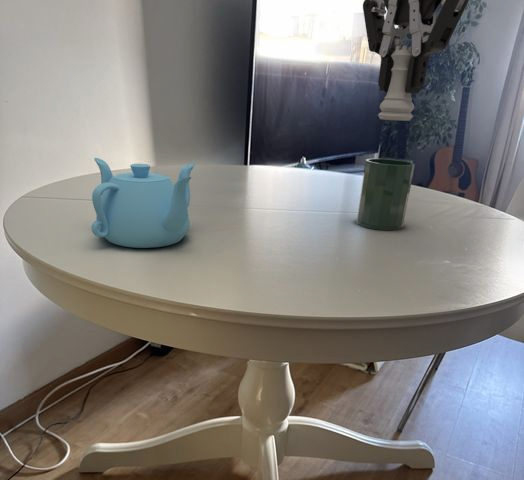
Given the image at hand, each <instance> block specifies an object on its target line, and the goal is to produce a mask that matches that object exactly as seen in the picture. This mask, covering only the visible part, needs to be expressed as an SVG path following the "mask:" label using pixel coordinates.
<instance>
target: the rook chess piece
mask: <svg viewBox="0 0 524 480" xmlns="http://www.w3.org/2000/svg"><path fill="white" fill-rule="evenodd" d="M391 57H392V59H393V61H394V65H393V68H392V69H391V71H392V77H391V82H390V86H389V89H388V92H386V95H385V96H384V97H383V98H384V99H383V100H382V102H381V103H380V104H379V109H380V110H381V111H380V112H379V113H378V114H377V116H378V117H379V120H383V121H384V120H385V121H405V122H407V121H408V122H410V121H411V120H412V118H413V117H414V115H413V114H412V112H413V110H415V105H414V103H413V101H412V100H413V98H412V93H406V92H405V86H406V80H407V73H408V67H409V61H410V58H413V55H412V45H409V47H408V45H401V46H396V47H395V51H394V53H393V54H392V55H391Z"/></svg>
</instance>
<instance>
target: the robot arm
mask: <svg viewBox="0 0 524 480" xmlns="http://www.w3.org/2000/svg"><path fill="white" fill-rule="evenodd" d="M469 1H470V0H363V3H362V11H363V18H364V26H365V32H366V37H367V43H368V45H367V46H368V50H369V51H370V52H372V53H376V54H377V55H379V57H380V65H379V71H378V73H379V74H378V79H377V84H378V87H379V92H381V93H387V92H388V89H389V86H390V82H391V77H392V71H391V69H392V68H393V65H394V61H393V59H392V57H391V55H392V54H393V53H394V51H395V47H396V46H401V47H402V45H403V40H404V39H405V38H406V37H407V35H408V32H409V34H410V35H411V46H412V55H413V58H410V61H409V67H408V73H407V80H406V86H405V92H406V93H411V94H419V93H420V92H421V89H422V88H423V87H424V85H425V83H426V76H427V71H428V64H429V60H430V58H431V56H432V55H434V54H436V53H439V52H443V51H445V50H446V48H447V46H448V44H449V43H450V40H451V39H452V37H453V34H454V32H455V30H456V29H457V26H458V24H459V22H460V20H461V18H462V15H463V13H464V12H465V10H466V7H467V5H468V4H469ZM440 5H441V8H440ZM438 8H440V11H439V13H438V15H437V10H438ZM395 26H397V27H395Z"/></svg>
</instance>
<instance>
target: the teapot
mask: <svg viewBox="0 0 524 480" xmlns="http://www.w3.org/2000/svg"><path fill="white" fill-rule="evenodd" d="M93 159H94V162H95V163H96V164H97V167H98V169H99V172H100V181H101V182H100V184H98V185H97V186H96V187H95V188H93V191H92V195H91V201H92V206H93V209H94V211H95V214H96V217H95V221H93V223H91V233H92V234H93V236H95V237H98V238H105V239H106V240H107V241H108V242H109V243H111V244H113V245H117V246H121V247H125V248H135V249H151V248H152V249H153V248H160V247H168V246H171V245H175V244H177V243H179V242H180V241H181V240H182V239H183V238H184V237H185V236H186V234H187V233H188V231H189V229H190V227H191V221H190V217H189V210H188V208H189V206H190V203H191V202H190V201H191V190H190V180H191V179H192V177H193V176H191V173H192V170H193V169H194V167H195V165H196V163H195V162H193V163H192V162H191V163H187V164H186V165H184V166H183V167H182V168H181V170H180V171H179V174H178V179H177V180H176V182H175V183H174V182H173V181H172V180H171V178H170V177H169V176H167V175H165V174H161V173H153V172H150V169H151V165H150V164H147V163H132V164H130V165H129V167H130V169H131V171H132V172H124V173H117V174H114V175H113V172H112V170H111V168H110V166H109V164H108V163H107V162H106V161H105V160H103V159H101V158H99V157H94V158H93Z"/></svg>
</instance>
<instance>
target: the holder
mask: <svg viewBox="0 0 524 480" xmlns="http://www.w3.org/2000/svg"><path fill="white" fill-rule="evenodd" d="M415 166H416V165H415V163H414V162H412V161H407V160H401V159H391V158H367V159H365V160H364V167H363V175H362V183H361V188H360V196H359V202H358V211H357V217H356V219H357V220H356V223H357V225H359V226H360V227H363V228H367V229H371V230H377V231H397V230H401V229H402V228H403V226H404V224H405V218H406V213H407V208H408V202H409V196H410V192H411V187H412V181H413V177H414V170H415Z"/></svg>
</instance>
